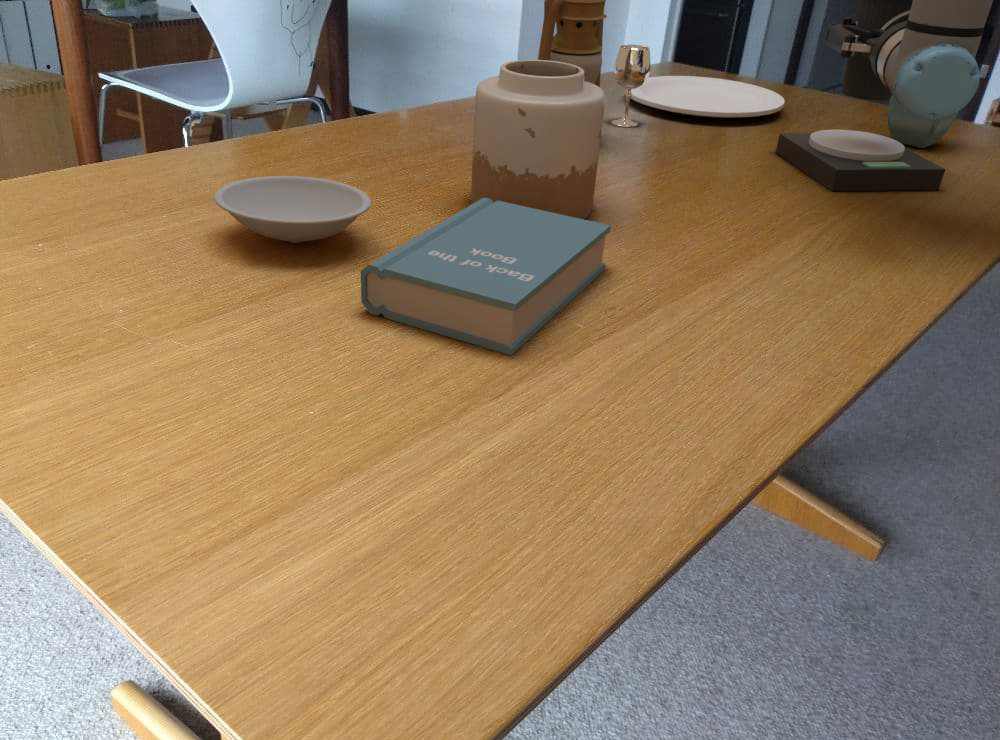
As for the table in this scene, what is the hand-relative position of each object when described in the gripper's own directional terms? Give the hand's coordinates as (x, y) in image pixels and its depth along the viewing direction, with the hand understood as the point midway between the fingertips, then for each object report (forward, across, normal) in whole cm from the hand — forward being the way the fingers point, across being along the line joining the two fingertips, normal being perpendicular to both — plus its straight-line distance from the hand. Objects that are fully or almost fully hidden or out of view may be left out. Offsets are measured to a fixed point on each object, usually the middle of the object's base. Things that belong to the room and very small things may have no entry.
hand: (875, 28), depth 123 cm
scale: (-3, +1, -19) cm, 19 cm away
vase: (-35, -42, -19) cm, 58 cm away
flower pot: (+15, +13, -19) cm, 28 cm away
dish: (-54, -66, -19) cm, 87 cm away
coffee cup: (-5, 0, -8) cm, 9 cm away
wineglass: (+11, -33, -19) cm, 40 cm away
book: (-60, -43, -19) cm, 76 cm away
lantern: (-4, -42, -19) cm, 46 cm away
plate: (+28, -20, -19) cm, 40 cm away
